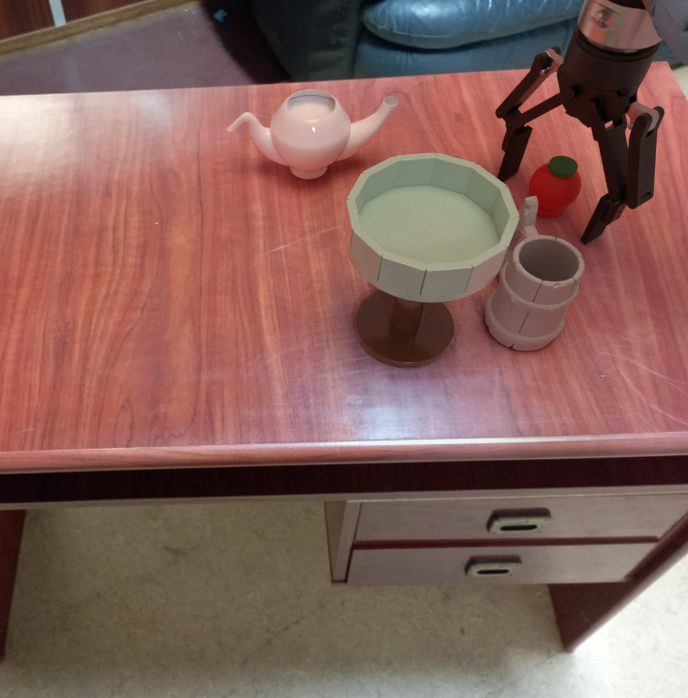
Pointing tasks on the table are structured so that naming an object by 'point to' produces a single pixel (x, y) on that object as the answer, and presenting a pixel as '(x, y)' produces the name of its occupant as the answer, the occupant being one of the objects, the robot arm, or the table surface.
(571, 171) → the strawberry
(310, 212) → the table surface
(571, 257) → the mug
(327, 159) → the teapot
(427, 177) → the dish
